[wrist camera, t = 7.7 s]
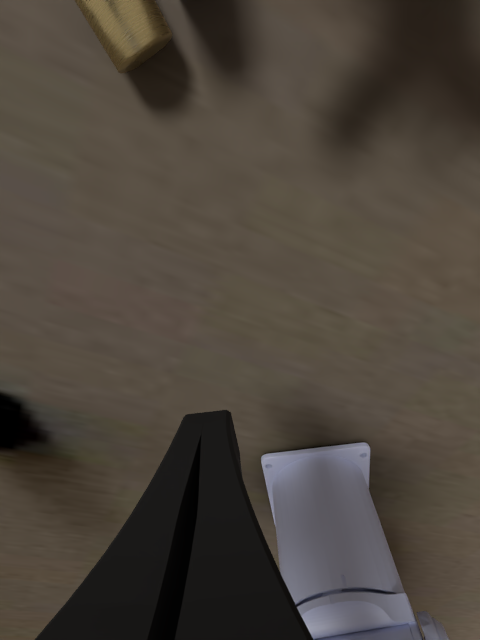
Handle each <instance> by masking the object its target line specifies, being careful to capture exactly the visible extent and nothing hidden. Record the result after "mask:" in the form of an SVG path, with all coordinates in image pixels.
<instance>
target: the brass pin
mask: <svg viewBox="0 0 480 640" xmlns="http://www.w3.org/2000/svg"><path fill="white" fill-rule="evenodd" d="M75 2H76V3H77V5H78V6H79V8H80V10H81V11H82V13H83V15H84V16H85V18H86V20H87V21H88V23H89V24H90V26H91V28H92V29H93V31H94V33H95V34H96V36H97V38H98V39H99V41H100V42H101V44H102V46H103V47H104V49H105V51H106V52H107V54H108V56H109V57H110V59H111V60H112V62H113V64H114V65H115V67H116V69H117V70H118V72H119V73H126V72H129V71H131V70H133V69H135V68H137V67H139V66H140V65H141V64H143V63H144V62H145V61H146V60H148V59H149V58H150V57H152V56H153V55H154V54H156V53H157V52H158V51H160V50H161V49H162V48H164V47H165V46H166V44H167V43H168V42H169V41H170V39H171V37H172V33H171V31H170V29H169V27H168V25H167V23H166V21H165V19H164V17H163V15H162V13H161V11H160V10H159V8H158V6H157V4H156V2H155V0H75Z"/></svg>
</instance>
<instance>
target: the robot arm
mask: <svg viewBox="0 0 480 640" xmlns="http://www.w3.org/2000/svg"><path fill="white" fill-rule="evenodd" d="M261 463H262V468H263V472H264V477H265V482H266V486H267V491H268V496H269V500H270V505H271V509H272V514H273V519H274V523H275V525H276V534H277V544H278V554H279V565H280V571H279V569H278V567H277V565H276V563H275V560H274V558H273V556H272V554H271V551H270V549H269V547H268V545H267V542H266V540H265V538H264V535H263V533H262V530H261V528H260V526H259V523H258V521H257V518H256V516H255V513H254V510H253V508H252V505H251V502H250V499H249V497H248V494H247V491H246V488H245V485H244V482H243V479H242V472H241V463H240V452H239V447H238V443H237V438H236V434H235V430H234V425H233V421H232V416H231V412H229V411H227V410H222V411H213V412H204V413H196V414H187V415H185V417H184V418H183V420H182V422H181V424H180V426H179V429H178V431H177V433H176V435H175V437H174V439H173V441H172V443H171V445H170V447H169V449H168V451H167V453H166V455H165V457H164V459H163V460H162V462H161V464H160V466H159V468H158V470H157V471H156V473H155V475H154V477H153V479H152V480H151V482H150V484H149V486H148V487H147V489H146V491H145V492H144V494H143V496H142V497H141V499H140V500H139V502H138V504H137V505H136V507H135V509H134V510H133V512H132V514H131V515H130V517H129V518H128V520H127V521H126V523H125V524H124V526H123V527H122V529H121V530H120V532H119V533H118V535H117V536H116V538H115V539H114V540H113V542H112V543H111V545H110V546H109V547H108V549H107V550H106V552H105V553H104V554H103V556H102V557H101V559H100V560H99V561H98V562H97V564H96V565H95V566H94V568H93V569H92V570H91V572H90V573H89V574H88V576H87V577H86V578H85V580H84V581H83V582H82V584H81V585H80V586H79V587H78V589H77V590H76V591H75V592H74V594H73V595H72V596H71V597H70V599H69V600H68V601H67V602H66V604H65V605H64V606H63V607H62V608H61V610H60V611H59V612H58V613H57V614H56V615H55V617H54V618H53V619H52V620H51V621H50V622H49V624H48V625H47V626H46V627H45V628H44V629H43V631H42V632H41V633H40V634H39V635H38V636H37V638H36V639H35V640H423V637H422V634H421V632H420V629H419V626H418V623H417V620H416V618H415V615H414V613H413V610H412V608H411V605H410V602H409V600H408V597H407V595H406V594H405V592H404V589H403V586H402V583H401V580H400V577H399V575H398V572H397V569H396V566H395V563H394V560H393V557H392V555H391V552H390V549H389V546H388V543H387V540H386V537H385V535H384V532H383V529H382V526H381V523H380V520H379V518H378V515H377V512H376V509H375V506H374V503H373V500H372V498H371V495H370V492H369V471H370V447H369V445H368V444H367V443H365V442H361V443H353V444H344V445H336V446H328V447H319V448H311V449H302V450H294V451H286V452H277V453H269V454H264V455H263V456H262V457H261ZM417 615H418V618H419V621H420V624H421V627H422V630H423V632H424V635H425V636H424V639H425V640H449V638H448V636H447V634H446V632H445V629H444V627H443V625H442V624H441V623H440V622H438V621H437V620H436V619H434V618H433V617H432V618H431V616H430V614H429V613H428V612H427V611H422V612H417Z"/></svg>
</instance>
